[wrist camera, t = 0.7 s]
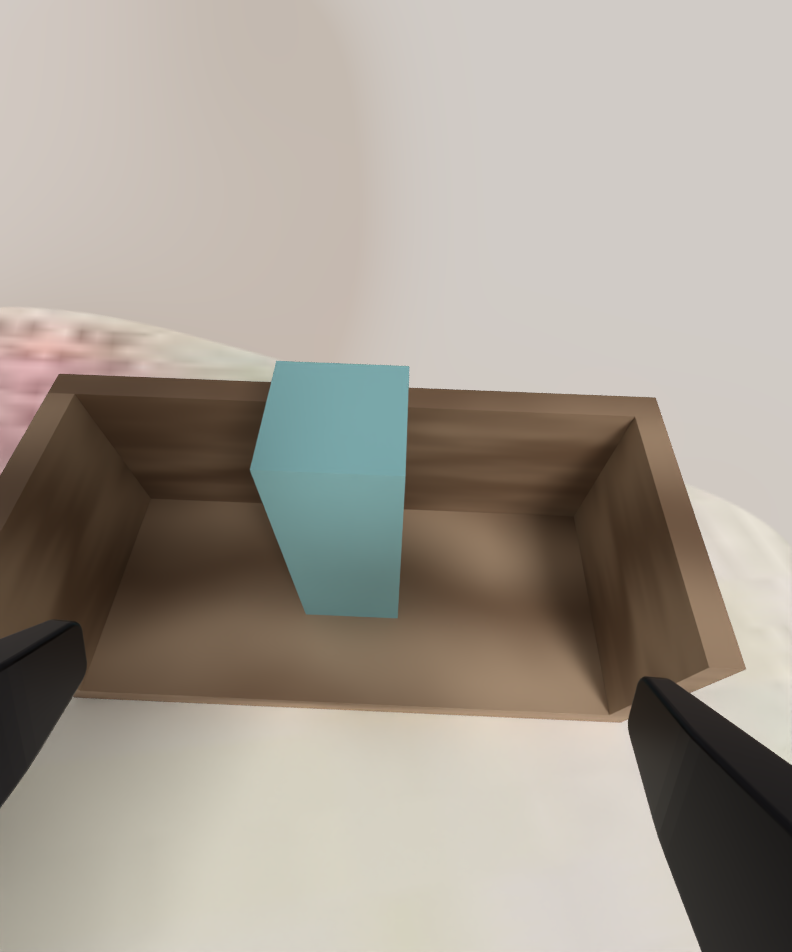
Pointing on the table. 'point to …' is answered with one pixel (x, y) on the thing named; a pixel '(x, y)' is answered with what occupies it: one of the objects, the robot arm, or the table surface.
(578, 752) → the table surface
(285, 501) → the pillar block
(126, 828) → the table surface
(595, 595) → the open box
